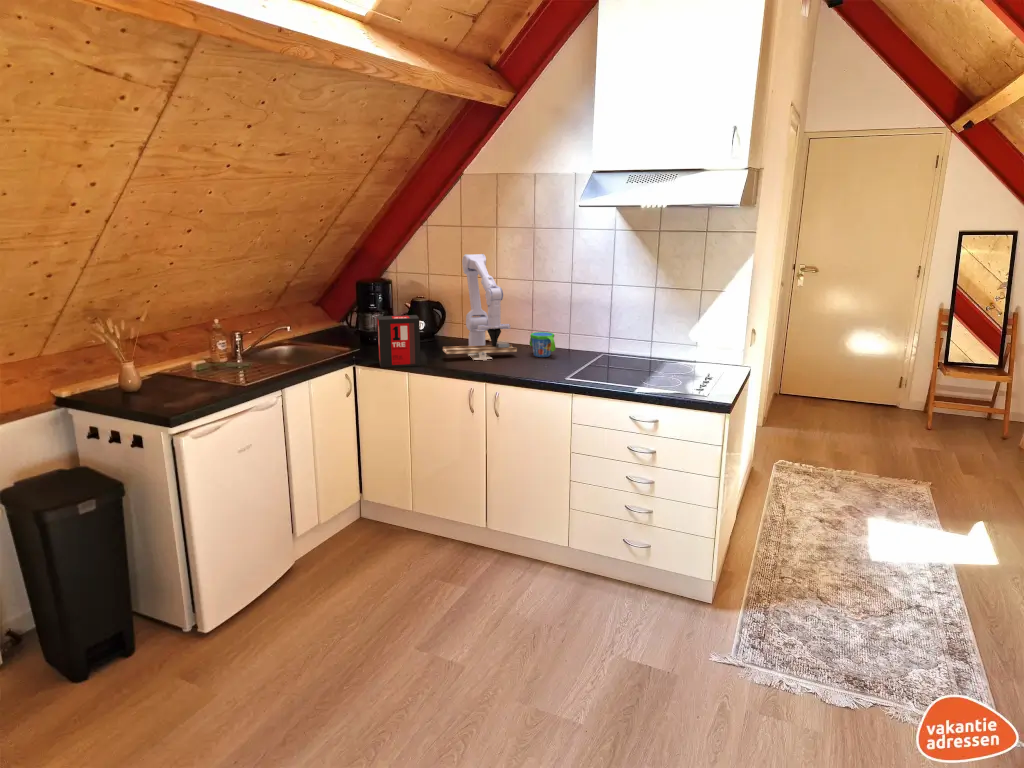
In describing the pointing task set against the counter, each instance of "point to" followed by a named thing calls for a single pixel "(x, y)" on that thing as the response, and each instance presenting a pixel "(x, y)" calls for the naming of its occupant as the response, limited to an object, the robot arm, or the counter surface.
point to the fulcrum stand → (479, 356)
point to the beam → (476, 349)
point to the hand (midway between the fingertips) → (494, 345)
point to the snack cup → (542, 343)
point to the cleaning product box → (399, 340)
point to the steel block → (502, 345)
